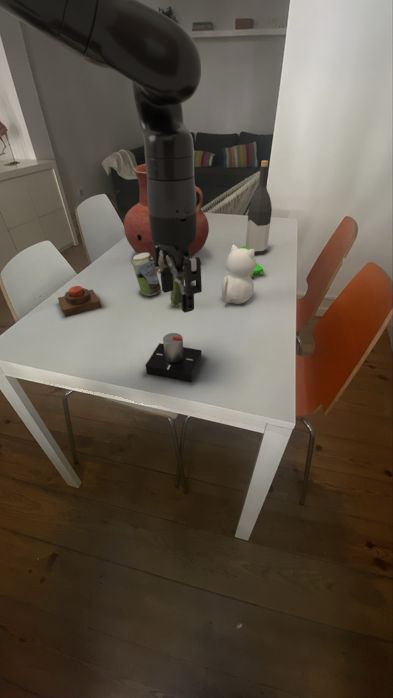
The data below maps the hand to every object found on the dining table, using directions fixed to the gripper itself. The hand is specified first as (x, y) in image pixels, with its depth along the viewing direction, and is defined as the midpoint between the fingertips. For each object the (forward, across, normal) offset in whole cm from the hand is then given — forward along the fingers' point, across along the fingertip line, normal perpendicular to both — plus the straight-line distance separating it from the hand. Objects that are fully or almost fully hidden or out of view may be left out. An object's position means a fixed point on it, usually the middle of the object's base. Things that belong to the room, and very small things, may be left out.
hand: (177, 300), depth 60 cm
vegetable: (+16, -23, +11) cm, 30 cm away
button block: (+16, -38, -13) cm, 43 cm away
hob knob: (+14, -1, -1) cm, 14 cm away
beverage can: (+16, -35, +7) cm, 39 cm away
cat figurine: (+16, -18, +27) cm, 36 cm away
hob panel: (+16, -1, -1) cm, 16 cm away
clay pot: (+16, -57, +24) cm, 64 cm away
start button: (+13, -38, -13) cm, 42 cm away
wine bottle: (+16, -45, +55) cm, 73 cm away
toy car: (+16, -32, +41) cm, 54 cm away
